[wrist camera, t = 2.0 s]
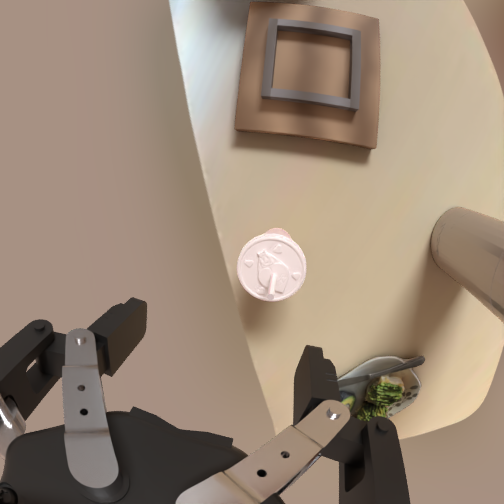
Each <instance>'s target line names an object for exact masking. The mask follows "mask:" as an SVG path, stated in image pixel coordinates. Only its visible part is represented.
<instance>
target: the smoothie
mask: <svg viewBox="0 0 504 504" xmlns="http://www.w3.org/2000/svg"><path fill="white" fill-rule="evenodd" d="M237 275H238V278H239V281H240V283H241V285H242V286H243V288H244V289H245V290H246V291H247V292H248V293H249V294H251V295H252V296H254V297H255V298H258V299H260V300H263V301H270V302H274V301H281V300H284V299H287V298H289V297H291V296H292V295H294V294H295V293H296V292H297V291H298V290H299V289H300V287H301V286H302V284H303V282H304V280H305V276H306V259H305V256H304V253H303V252H302V250H301V249H300V247H299V246H298V245H297V244H296V243H295V242H294V241H293V240H292V239H291V237H290V235H289V234H288V233H287V232H286V231H285V230H283V229H281V228H272V229H269V230H268V231H266V232H265V233H264V234H263V235H260V236H257V237H255V238H253V239H252V240H250V241H249V242H248V243H247V244H246V245H245V246H244V247H243V248H242V250H241V253H240V255H239V258H238V262H237Z"/></svg>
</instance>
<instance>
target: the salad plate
mask: <svg viewBox="0 0 504 504" xmlns="http://www.w3.org/2000/svg"><path fill="white" fill-rule="evenodd" d="M424 361H425V358H424V356H418V357H415V358H411V359H402V358H399V357H396V356H377V357H374V358H372V359H370V360H368V361H366V362H364V363H362V364H360V365H359V366H357V367H355V368H354V369H353V370H351V371H349V372H348V373H346V374H345V375H343V376H341V377H339V378H338V379H337V380H338V381H337V382H338V386H339V392H340V398H341V403H343V404H344V405H345V406H346V407H347V408H348V409H349V411H350V415H352V417H354V418H357V419H360V420H363V421H366V422H368V421H369V420H370V419H371V418H373V417H375V416H381V417H385V418H387V419H388V418H390V417H391V416H393V415H394V414H396V413H398V412H400V411H401V410H403V409H404V408H406V407H407V406H409V405H410V404H411V403H412V402H414V400H415V399H416V398H417V396H418V394H419V391H420V388H421V383H420V381H419V379H418V377H417V376H416V374H415V373H414V372H413V369H412V368H413V367H417V366H419V365H422V364H423V363H424ZM365 400H366V401H365ZM386 406H389V407H387V408H386Z"/></svg>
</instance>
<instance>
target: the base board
mask: <svg viewBox="0 0 504 504" xmlns="http://www.w3.org/2000/svg"><path fill="white" fill-rule="evenodd" d="M379 102H380V33H379V19H376V18H373V17H369V16H365V15H361V14H356V13H352V12H347V11H342V10H336V9H330V8H324V7H317V6H310V5H301V4H290V3H274V2H250V7H249V14H248V21H247V28H246V35H245V43H244V50H243V58H242V66H241V74H240V83H239V91H238V100H237V109H236V118H235V128H234V129H236V130H237V131H246V132H259V133H270V134H280V135H289V136H297V137H305V138H312V139H318V140H325V141H331V142H337V143H343V144H348V145H353V146H358V147H363V148H368V149H375V148H376V145H377V134H378V120H379Z"/></svg>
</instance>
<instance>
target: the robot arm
mask: <svg viewBox="0 0 504 504" xmlns="http://www.w3.org/2000/svg"><path fill="white" fill-rule="evenodd" d="M431 251H432V256H433V258H434V261H435V262H436V264H437V265H438V266H439V267H440V268H441V269H442V270H444V271H445V272H446V273H447V274H448V275H450V276H451V277H452V278H453V279H454V280H456V281H457V282H458V283H459V284H460V285H462V286H463V287H464V288H465V289H466V290H468V291H469V292H470V293H471V294H472V295H473V296H474V297H476V298H477V299H478V300H479V301H480V302H481V303H482V304H484V305H485V306H486V307H487V308H488V309H489V310H490V311H491V312H492V313H493V314H494V315H496V316H497V317H498V318H499V319H500V320H501V321H502V322H503V323H504V222H503V221H500V220H498V219H495V218H492V217H489V216H487V215H484V214H481V213H478V212H475V211H472V210H469V209H465V208H462V207H455V208H452V209H450V210H448V211H446V212H445V213H444V214H443V215H442V216H441V217H440V219H439V220H438V221H437V223H436V225H435V227H434V230H433V234H432V239H431ZM146 318H147V303H146V302H145V301H142V300H139V299H136V298H130V299H129V300H128V301H127V302H126V303H125V304H122V303H120V304H118V305H115V306H113V307H111V308H110V309H109V310H108V311H107V312H106V313H105V314H103V315H102V317H100V318H99V319H98V320H96V321H95V322H94V323H93V324H92V325H91V326H89V327H88V328H87V329H81V328H79V329H74V330H71V331H70V332H69V333H68V334H67V335H66V334H62V333H57V332H54V331H53V326H52V324H51V323H50V322H49V321H47V320H35V321H32V322H31V323H29V324H28V325H27V326H26V327H24V329H22V330H21V331H20V332H19V333H17V334H16V335H15V336H14V337H12V338H11V339H10V340H9V341H8V342H7V343H5V344H4V345H3V346H2V347H1V348H0V457H1V458H2V459H4V460H5V466H4V471H3V475H2V478H1V481H0V504H285V503H284V502H283V500H282V499H281V497H280V495H281V494H283V493H284V492H285V491H286V490H287V489H288V488H289V487H290V486H291V485H292V484H293V483H294V482H295V481H296V480H297V479H298V478H299V477H300V476H302V475H303V474H304V473H305V472H306V471H307V470H308V469H309V468H310V467H311V466H312V465H313V464H314V463H315V462H316V461H317V460H318V459H319V458H320V457H321V456H324V457H327V458H330V459H332V460H335V461H338V462H339V504H410V498H409V492H408V485H407V479H406V474H405V468H404V463H403V458H402V453H401V448H400V444H399V439H398V435H397V430H396V427H395V425H394V424H393V422H392V421H390V420H389V419H387V418H385V417H381V416H375V417H373V418H371V419H370V420H369V421H368V422H366V421H363V420H360V419H357V418H354V417H352V416H351V415H350V411H349V409H348V408H347V407H346V406H345V405H344V404H343V403H341V398H340V392H339V386H338V382H337V381H338V380H337V376H336V370H335V366H334V365H333V363H332V362H331V361H330V359H324V357H323V351H322V348H320V347H315V346H310V345H306V347H305V349H304V351H303V354H302V356H301V359H300V361H299V364H298V366H297V369H296V372H295V376H294V413H293V425H290V426H288V427H287V428H286V429H284V430H283V431H282V432H281V433H279V434H278V435H277V436H275V437H274V438H273V439H272V440H270V441H269V442H267V443H266V444H265V445H263V446H262V447H261V448H259V449H258V450H256V451H255V452H253V453H252V454H251V455H249V456H248V455H247V454H246V453H244V452H243V451H242V450H240V449H238V448H236V447H234V446H232V442H233V438H229V437H225V436H221V435H217V434H212V433H209V432H201V431H190V430H182V429H178V428H176V427H175V426H173V425H171V424H169V423H168V422H166V421H164V420H163V419H161V418H159V417H158V416H156V415H154V414H151V413H149V412H146V411H143V410H141V409H139V408H136V407H133V408H132V409H131V411H130V412H123V411H111V412H107V409H106V404H105V399H104V393H103V388H102V382H101V376H102V375H103V374H104V373H105V374H107V375H109V376H111V377H112V376H113V374H114V373H115V372H116V371H117V370H118V368H119V367H120V366H121V365H122V363H123V362H124V361H125V360H126V358H127V357H128V356H129V355H130V353H131V352H132V351H133V350H134V348H135V347H136V346H137V345H138V343H139V342H140V341H141V340H142V338H143V337H144V334H145V332H146V320H147V319H146ZM34 360H36V363H35V364H34V365H33V366H32V367H31V368H30V369H29V370H28V371H27V372H26V370H27V367H28V366H29V365H30V364H31V363H32V362H33V361H34ZM60 377H62V386H63V387H62V389H63V409H64V422H65V424H64V425H60V426H56V427H52V428H48V429H44V430H39V431H35V432H30V433H26V434H24V432H25V430H26V424H25V421H26V420H27V418H28V417H29V416H30V414H31V413H32V412H33V411H34V409H35V408H36V407H37V405H38V404H39V403H40V402H41V400H42V399H43V398H44V397H45V396H46V394H47V393H48V392H49V391H50V389H51V388H52V387H53V386H54V384H55V383H56V382H57V381H58V379H60Z"/></svg>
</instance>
